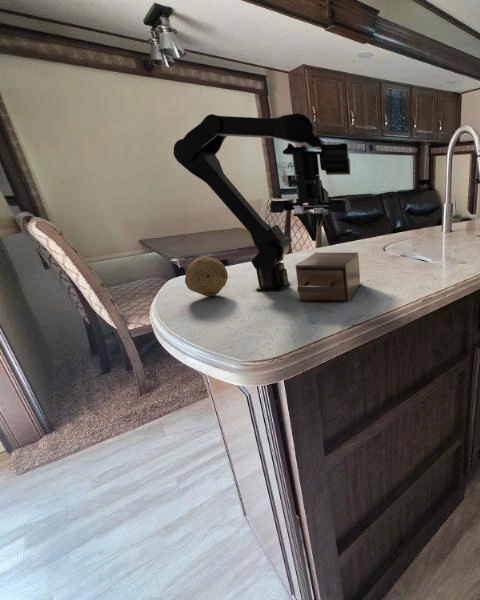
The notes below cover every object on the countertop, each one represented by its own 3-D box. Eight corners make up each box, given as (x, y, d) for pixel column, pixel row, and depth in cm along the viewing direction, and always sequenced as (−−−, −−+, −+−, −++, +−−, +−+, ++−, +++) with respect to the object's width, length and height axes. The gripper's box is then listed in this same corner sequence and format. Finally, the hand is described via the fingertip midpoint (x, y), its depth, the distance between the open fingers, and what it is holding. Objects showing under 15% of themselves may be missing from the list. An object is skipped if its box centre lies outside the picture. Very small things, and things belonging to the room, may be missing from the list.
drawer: (338, 307, 68) (336, 277, 65) (291, 306, 68) (287, 276, 66) (356, 283, 84) (354, 257, 81) (317, 282, 84) (315, 257, 82)
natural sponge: (236, 296, 78) (228, 257, 74) (195, 306, 72) (183, 263, 69) (226, 288, 84) (218, 251, 80) (187, 296, 78) (177, 257, 75)
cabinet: (348, 301, 73) (345, 265, 70) (300, 300, 74) (295, 265, 71) (360, 283, 86) (358, 252, 83) (318, 283, 87) (315, 252, 84)
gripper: (353, 175, 82) (357, 235, 88) (284, 176, 84) (292, 235, 89) (342, 174, 72) (347, 243, 77) (263, 176, 73) (274, 243, 79)
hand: (314, 240), depth 81 cm, fingers closed
